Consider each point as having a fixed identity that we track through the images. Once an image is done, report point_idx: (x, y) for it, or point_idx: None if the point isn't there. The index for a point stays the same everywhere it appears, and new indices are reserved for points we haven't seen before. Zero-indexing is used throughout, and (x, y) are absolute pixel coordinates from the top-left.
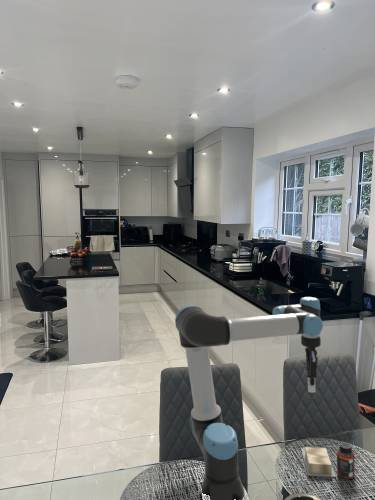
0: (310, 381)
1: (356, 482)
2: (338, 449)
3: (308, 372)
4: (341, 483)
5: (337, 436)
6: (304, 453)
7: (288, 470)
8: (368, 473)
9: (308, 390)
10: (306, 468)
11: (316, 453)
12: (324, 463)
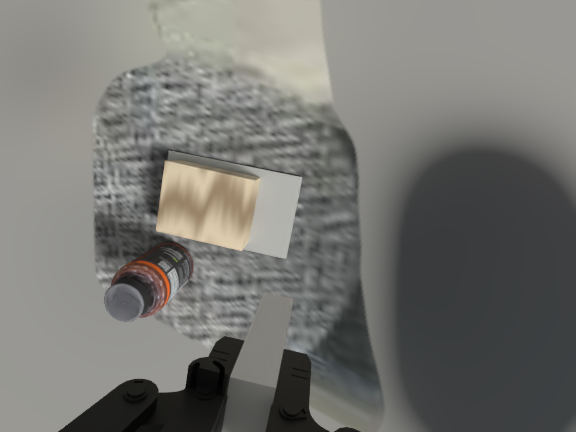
0: (224, 360)
1: None
2: (143, 273)
3: (266, 428)
4: (137, 234)
5: (356, 328)
6: (271, 179)
7: (196, 95)
8: (174, 324)
9: (271, 299)
10: (196, 157)
11: (215, 206)
12: (162, 211)
